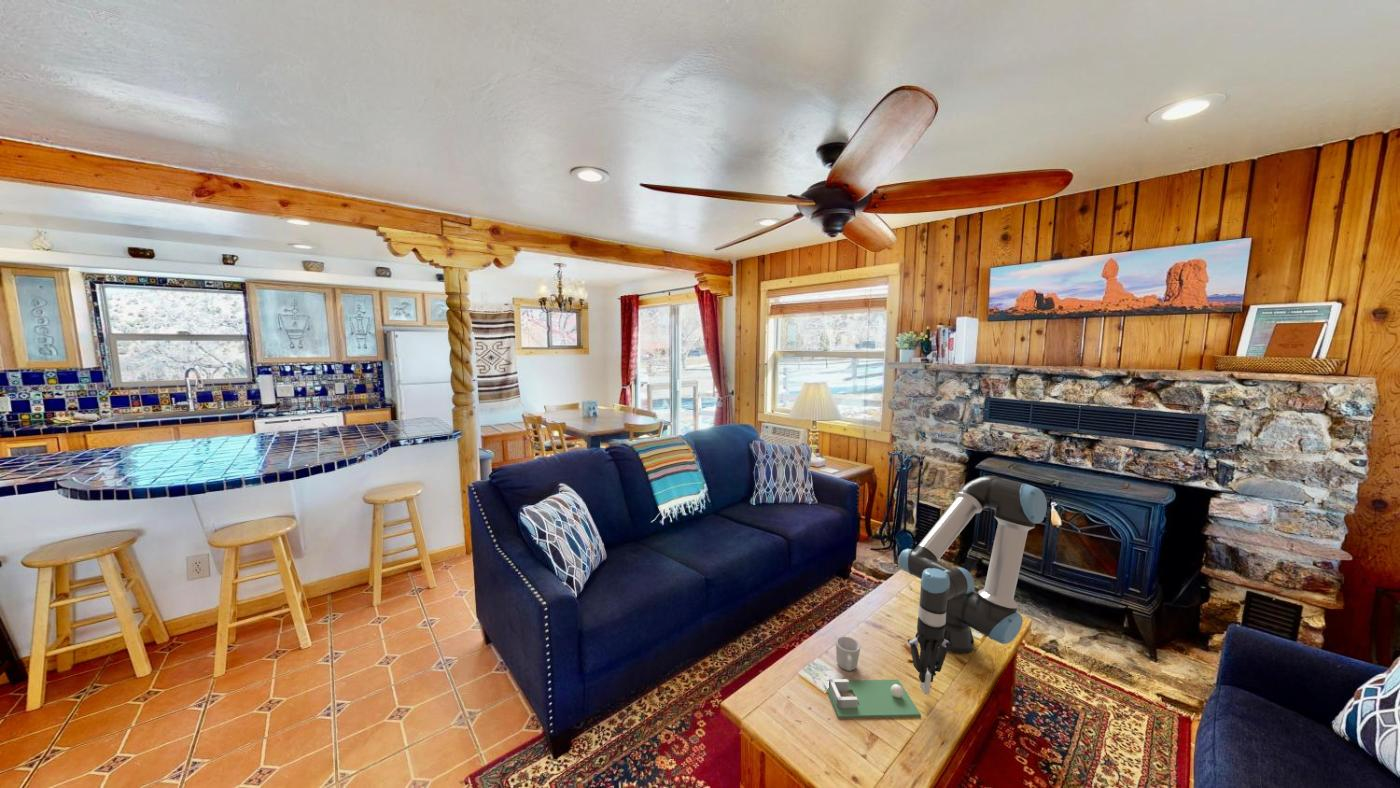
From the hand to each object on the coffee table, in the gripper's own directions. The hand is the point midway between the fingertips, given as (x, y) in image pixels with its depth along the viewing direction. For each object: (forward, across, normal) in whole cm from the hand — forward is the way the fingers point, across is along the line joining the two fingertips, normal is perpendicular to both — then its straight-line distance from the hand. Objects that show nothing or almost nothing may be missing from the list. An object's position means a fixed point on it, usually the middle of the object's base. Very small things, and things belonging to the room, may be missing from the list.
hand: (924, 690), depth 143 cm
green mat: (+3, +17, 0) cm, 18 cm away
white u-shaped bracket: (+3, +26, 0) cm, 26 cm away
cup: (+3, +20, -14) cm, 24 cm away
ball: (0, +9, 0) cm, 9 cm away
